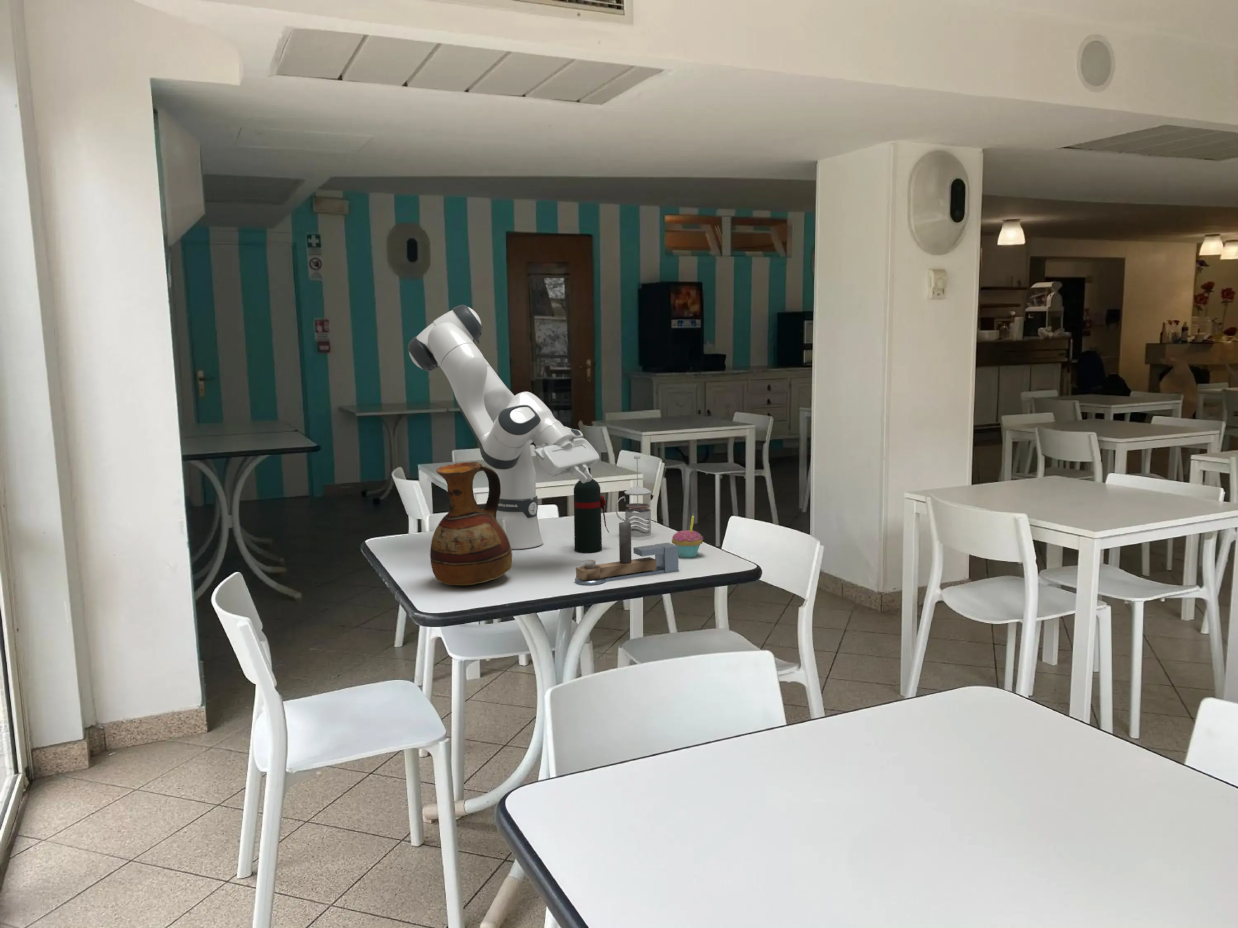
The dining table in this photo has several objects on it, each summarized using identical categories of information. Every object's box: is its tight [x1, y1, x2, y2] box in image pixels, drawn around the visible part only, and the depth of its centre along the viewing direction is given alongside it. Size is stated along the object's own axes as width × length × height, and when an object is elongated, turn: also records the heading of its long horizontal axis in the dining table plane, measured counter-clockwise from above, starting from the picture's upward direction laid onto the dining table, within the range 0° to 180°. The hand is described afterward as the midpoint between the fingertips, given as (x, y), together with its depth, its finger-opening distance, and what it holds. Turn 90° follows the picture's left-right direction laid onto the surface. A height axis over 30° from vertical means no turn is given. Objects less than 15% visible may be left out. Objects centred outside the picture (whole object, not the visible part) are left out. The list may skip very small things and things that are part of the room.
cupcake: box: [671, 513, 704, 559], centre depth 254 cm, size 9×8×12 cm
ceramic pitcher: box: [429, 461, 513, 586], centre depth 230 cm, size 20×20×30 cm
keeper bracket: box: [574, 542, 679, 586], centre depth 234 cm, size 28×8×6 cm, turn 118°
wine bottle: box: [573, 467, 610, 554], centre depth 262 cm, size 8×10×30 cm
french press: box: [615, 454, 655, 541], centre depth 279 cm, size 10×12×25 cm
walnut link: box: [575, 521, 657, 581], centre depth 232 cm, size 21×5×12 cm, turn 119°
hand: (588, 480), depth 239 cm, fingers closed
